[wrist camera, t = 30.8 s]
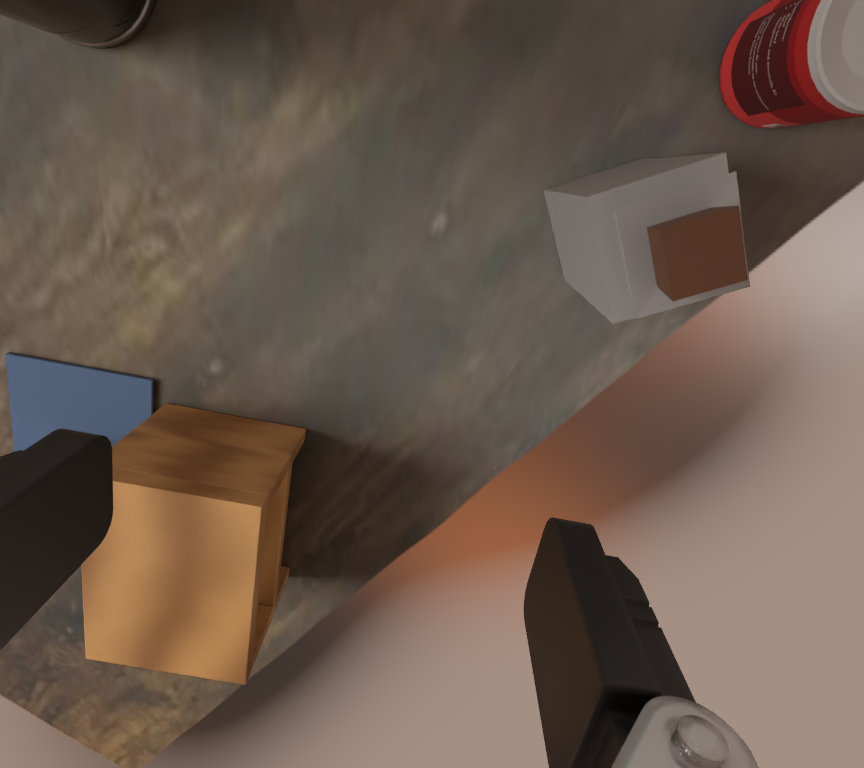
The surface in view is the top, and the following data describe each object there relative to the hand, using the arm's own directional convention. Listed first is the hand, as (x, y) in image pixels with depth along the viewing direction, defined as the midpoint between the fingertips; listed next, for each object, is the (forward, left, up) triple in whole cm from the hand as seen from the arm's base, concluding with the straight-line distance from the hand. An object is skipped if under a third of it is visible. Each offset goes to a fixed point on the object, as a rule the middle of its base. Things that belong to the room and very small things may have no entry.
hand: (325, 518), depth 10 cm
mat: (-16, -31, -34) cm, 49 cm away
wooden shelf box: (-4, -27, -34) cm, 44 cm away
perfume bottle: (+10, +9, -34) cm, 37 cm away
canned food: (+14, +23, -34) cm, 44 cm away
